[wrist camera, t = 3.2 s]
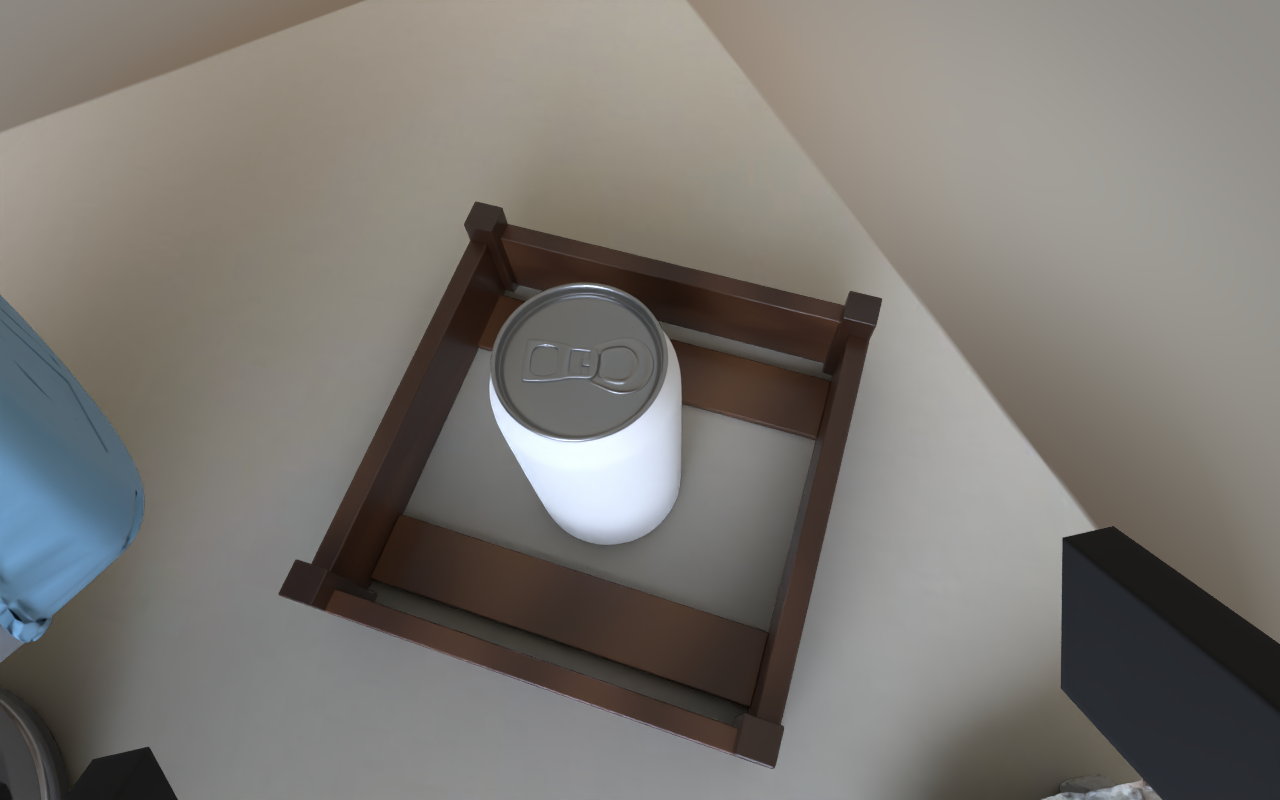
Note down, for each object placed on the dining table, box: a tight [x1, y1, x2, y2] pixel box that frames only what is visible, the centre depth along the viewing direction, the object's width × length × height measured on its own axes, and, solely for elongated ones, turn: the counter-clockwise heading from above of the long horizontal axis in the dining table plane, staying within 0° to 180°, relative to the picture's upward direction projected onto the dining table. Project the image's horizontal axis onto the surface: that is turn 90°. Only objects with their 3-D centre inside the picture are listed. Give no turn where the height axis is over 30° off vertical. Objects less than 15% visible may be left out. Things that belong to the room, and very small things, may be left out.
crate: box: [278, 202, 882, 769], centre depth 32 cm, size 19×19×5 cm
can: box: [489, 283, 682, 545], centre depth 29 cm, size 6×6×12 cm
